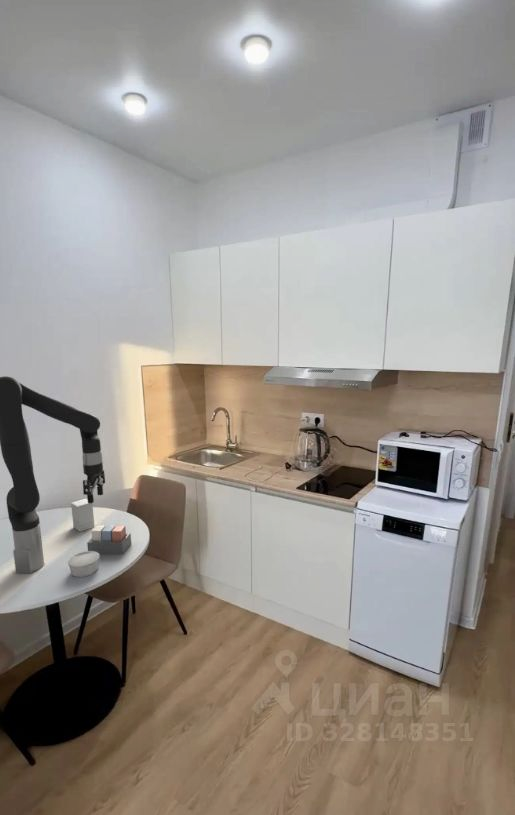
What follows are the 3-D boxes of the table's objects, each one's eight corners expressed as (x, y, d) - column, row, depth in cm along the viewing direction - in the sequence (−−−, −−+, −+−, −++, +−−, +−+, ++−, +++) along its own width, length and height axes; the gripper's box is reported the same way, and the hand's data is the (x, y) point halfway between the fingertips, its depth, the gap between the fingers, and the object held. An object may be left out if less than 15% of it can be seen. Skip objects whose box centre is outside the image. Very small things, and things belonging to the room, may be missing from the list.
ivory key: (101, 542, 164) (100, 530, 163) (92, 541, 164) (91, 530, 163) (106, 536, 169) (105, 525, 168) (97, 536, 169) (97, 525, 168)
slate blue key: (111, 542, 164) (110, 531, 163) (102, 542, 164) (101, 530, 163) (116, 536, 169) (115, 525, 168) (107, 536, 169) (106, 525, 168)
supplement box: (95, 526, 187) (92, 501, 185) (79, 532, 182) (77, 506, 180) (88, 522, 192) (86, 497, 190) (72, 527, 187) (70, 502, 185)
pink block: (121, 542, 163) (120, 531, 162) (112, 542, 164) (111, 531, 163) (126, 536, 168) (125, 525, 167) (117, 536, 168) (116, 525, 168)
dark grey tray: (123, 554, 162) (122, 543, 161) (88, 553, 163) (87, 542, 162) (131, 543, 171) (130, 532, 170) (98, 542, 172) (97, 532, 171)
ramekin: (95, 559, 159) (94, 547, 158) (104, 571, 150) (103, 559, 149) (66, 569, 152) (64, 557, 151) (73, 583, 143) (72, 569, 142)
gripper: (93, 467, 154) (96, 505, 157) (109, 456, 168) (111, 492, 171) (74, 467, 155) (78, 505, 157) (92, 456, 169) (95, 492, 172)
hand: (95, 498), depth 164 cm, fingers open, 8 cm apart
